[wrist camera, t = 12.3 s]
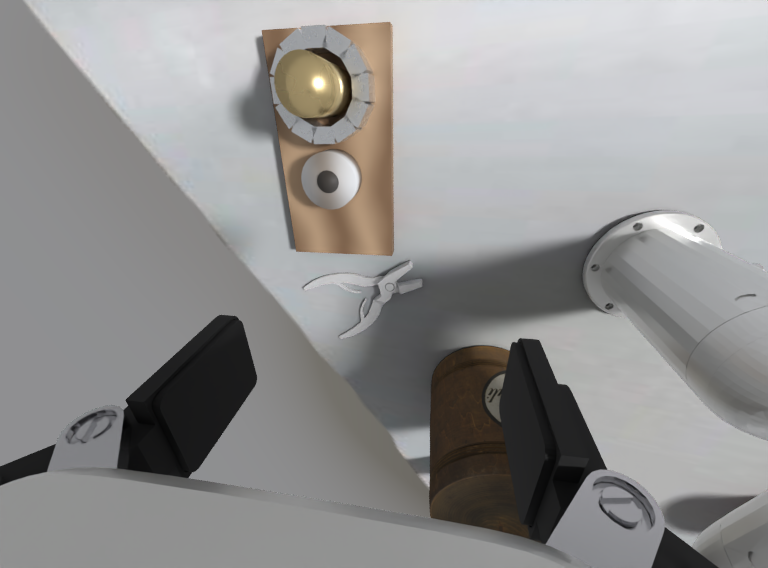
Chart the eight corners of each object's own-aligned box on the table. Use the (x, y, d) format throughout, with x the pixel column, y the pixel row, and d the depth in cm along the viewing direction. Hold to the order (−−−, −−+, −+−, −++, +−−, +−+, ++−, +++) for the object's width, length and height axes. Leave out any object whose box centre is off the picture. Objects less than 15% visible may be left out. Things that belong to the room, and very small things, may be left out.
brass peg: (351, 62, 30) (326, 46, 23) (356, 115, 32) (334, 116, 25) (306, 66, 31) (268, 52, 24) (313, 118, 33) (280, 119, 26)
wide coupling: (373, 30, 29) (366, 22, 26) (376, 141, 33) (370, 143, 30) (277, 36, 30) (262, 28, 27) (292, 141, 34) (280, 144, 32)
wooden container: (557, 397, 46) (637, 598, 27) (468, 431, 53) (483, 615, 33) (499, 326, 43) (545, 503, 23) (411, 373, 49) (390, 543, 30)
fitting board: (392, 25, 30) (384, 12, 26) (393, 250, 40) (388, 266, 36) (269, 33, 31) (243, 22, 27) (300, 247, 42) (285, 261, 38)
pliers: (299, 289, 43) (397, 241, 38) (304, 284, 45) (398, 236, 39) (340, 344, 47) (434, 306, 41) (343, 337, 48) (435, 300, 43)
